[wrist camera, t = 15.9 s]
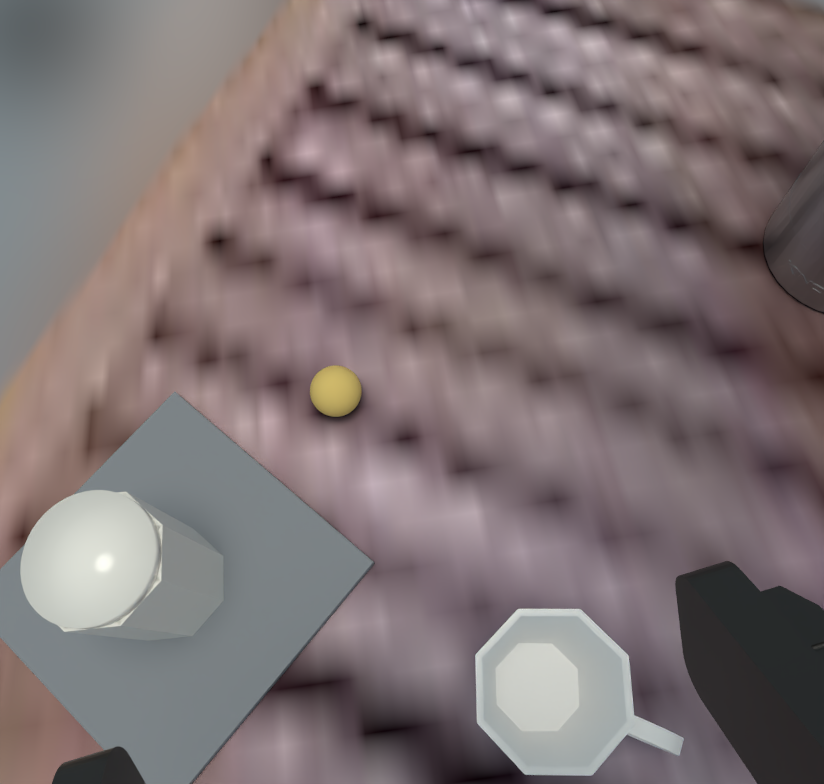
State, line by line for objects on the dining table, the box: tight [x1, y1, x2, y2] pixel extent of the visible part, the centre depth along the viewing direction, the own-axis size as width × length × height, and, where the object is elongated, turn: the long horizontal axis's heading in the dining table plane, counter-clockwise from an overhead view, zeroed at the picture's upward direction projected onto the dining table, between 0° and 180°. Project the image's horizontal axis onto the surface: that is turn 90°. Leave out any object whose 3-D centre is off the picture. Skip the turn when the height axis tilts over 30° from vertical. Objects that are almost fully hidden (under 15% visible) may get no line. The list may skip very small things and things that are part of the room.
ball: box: [310, 366, 361, 417], centre depth 44 cm, size 3×3×3 cm
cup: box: [475, 609, 684, 776], centre depth 35 cm, size 7×10×8 cm
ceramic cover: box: [20, 490, 224, 641], centre depth 36 cm, size 6×6×10 cm
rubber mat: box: [0, 392, 375, 784], centre depth 41 cm, size 16×16×1 cm
